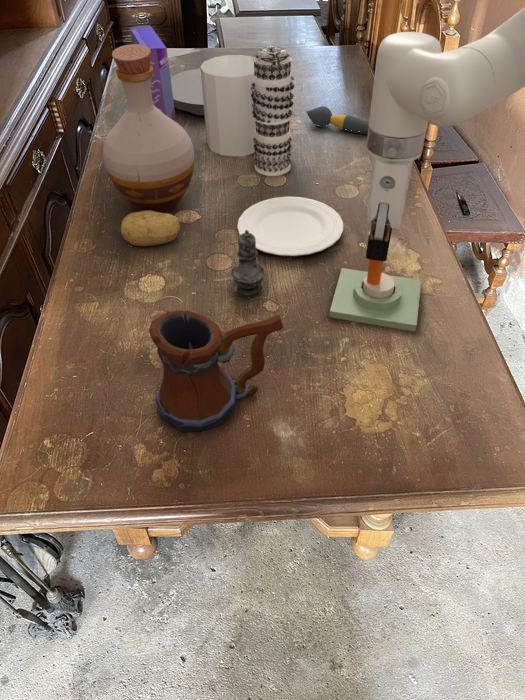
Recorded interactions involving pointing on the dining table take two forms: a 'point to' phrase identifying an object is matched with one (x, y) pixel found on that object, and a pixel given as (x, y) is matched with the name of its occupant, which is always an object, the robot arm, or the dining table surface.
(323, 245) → the plate
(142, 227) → the potato
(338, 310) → the push button block
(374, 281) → the marker
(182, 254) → the dining table surface
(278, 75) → the decorative candle
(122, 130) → the jug
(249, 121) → the container
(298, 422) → the dining table surface
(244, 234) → the chess piece
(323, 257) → the dining table surface
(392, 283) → the circle pad
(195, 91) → the flat disc
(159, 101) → the cereal box
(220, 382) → the mug
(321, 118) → the paintbrush
